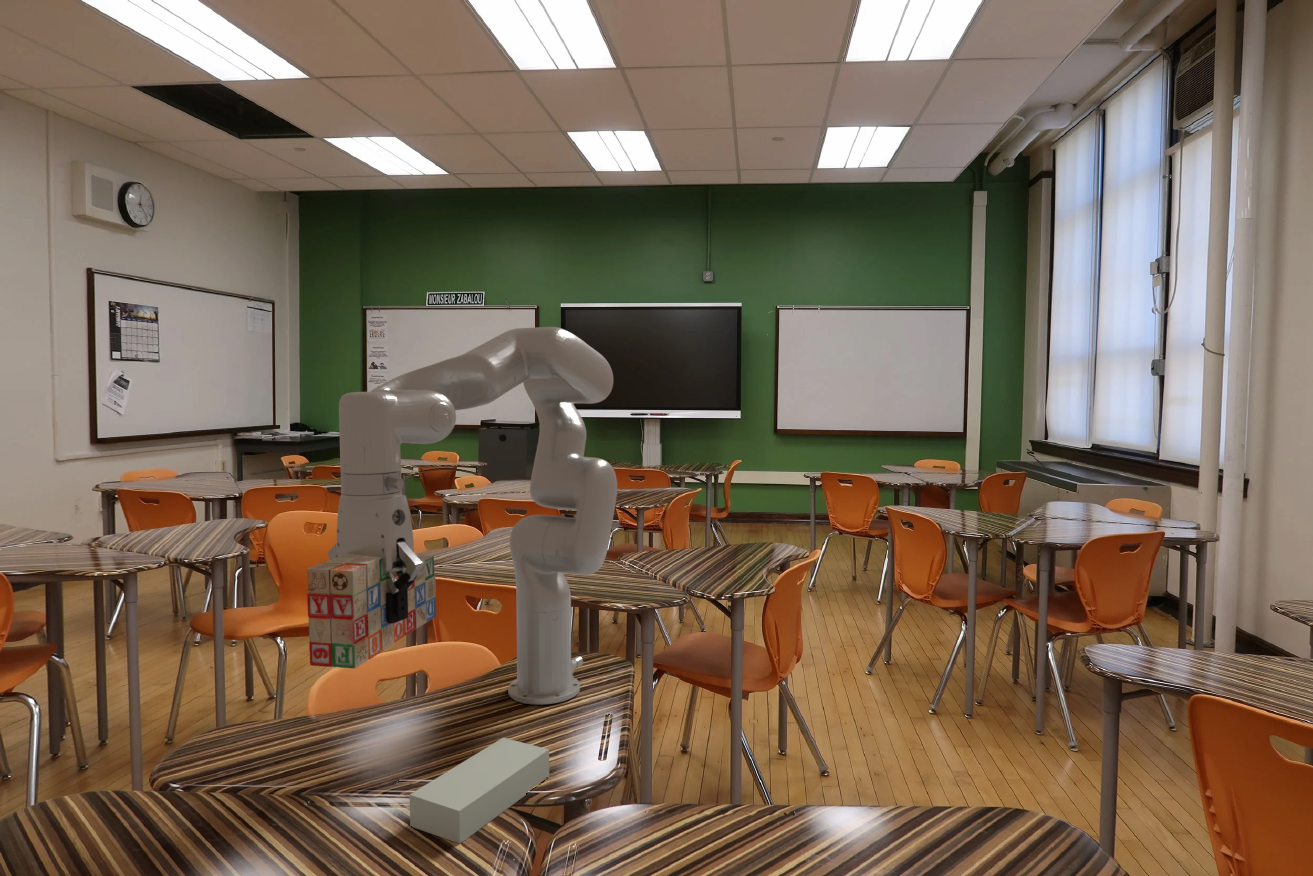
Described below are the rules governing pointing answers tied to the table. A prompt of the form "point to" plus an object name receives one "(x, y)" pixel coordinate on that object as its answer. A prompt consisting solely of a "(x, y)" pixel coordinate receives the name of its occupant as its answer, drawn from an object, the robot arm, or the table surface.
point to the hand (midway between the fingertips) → (375, 615)
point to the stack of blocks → (360, 609)
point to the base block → (478, 789)
